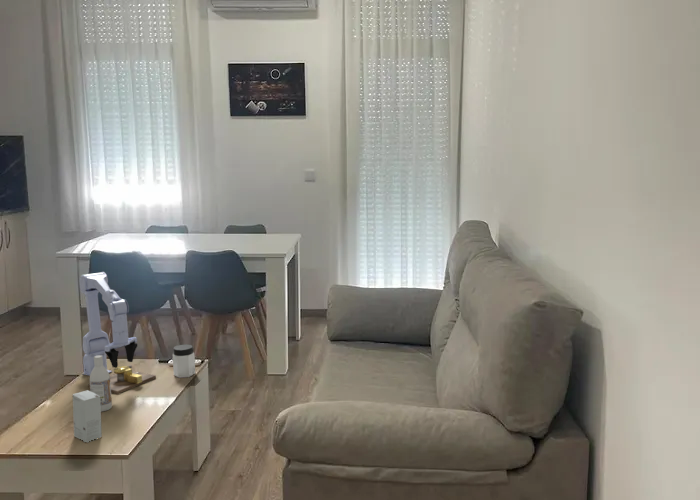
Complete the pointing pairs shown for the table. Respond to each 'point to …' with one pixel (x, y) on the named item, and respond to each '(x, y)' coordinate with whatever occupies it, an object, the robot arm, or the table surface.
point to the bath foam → (101, 383)
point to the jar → (183, 361)
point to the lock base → (120, 385)
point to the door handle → (128, 374)
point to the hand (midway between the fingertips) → (122, 364)
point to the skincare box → (87, 415)
